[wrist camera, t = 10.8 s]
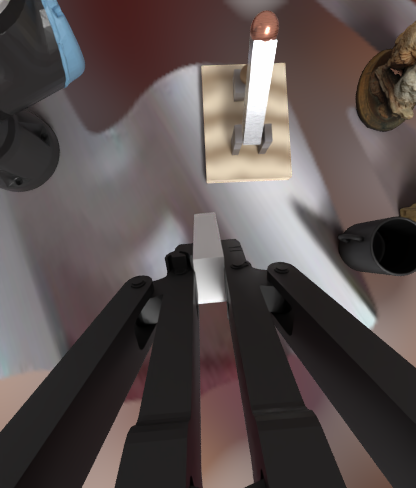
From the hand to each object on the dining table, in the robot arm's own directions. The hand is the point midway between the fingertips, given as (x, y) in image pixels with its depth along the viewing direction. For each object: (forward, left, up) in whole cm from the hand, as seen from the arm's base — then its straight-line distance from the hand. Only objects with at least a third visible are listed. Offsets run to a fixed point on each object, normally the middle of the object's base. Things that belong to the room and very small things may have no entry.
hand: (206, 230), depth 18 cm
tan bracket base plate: (-4, +24, -28) cm, 38 cm away
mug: (+26, +13, -29) cm, 41 cm away
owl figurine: (+18, +43, -29) cm, 55 cm away
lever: (-1, +20, -24) cm, 31 cm away
